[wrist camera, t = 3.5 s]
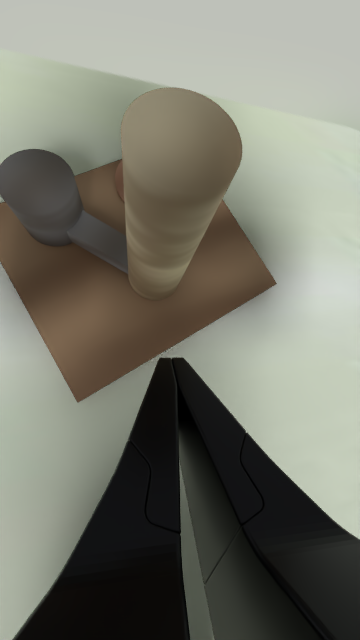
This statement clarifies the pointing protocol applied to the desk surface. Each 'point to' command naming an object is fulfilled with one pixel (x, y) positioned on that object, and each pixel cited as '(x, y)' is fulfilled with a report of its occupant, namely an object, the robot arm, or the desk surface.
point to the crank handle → (138, 189)
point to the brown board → (122, 289)
